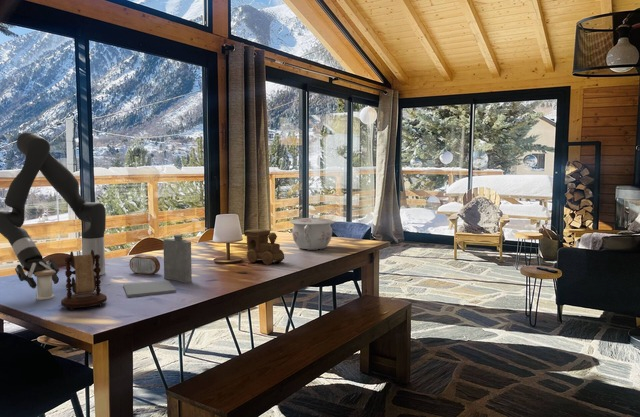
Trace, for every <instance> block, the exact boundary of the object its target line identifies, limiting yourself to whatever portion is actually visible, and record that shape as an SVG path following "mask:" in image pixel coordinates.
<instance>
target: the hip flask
mask: <svg viewBox="0 0 640 417" xmlns="http://www.w3.org/2000/svg"><path fill="white" fill-rule="evenodd" d="M162 241H163V243H162V244H163V279H164V280H165V279H166V280H173V281H179V282H183V283H185V284H186V283H192V281H193V280H192V278H193V277H192V272H193V271H192V241H190V240H188V239H183V234H174V235H173V238H163V240H162Z"/></svg>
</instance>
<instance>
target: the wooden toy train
mask: <svg viewBox="0 0 640 417" xmlns="http://www.w3.org/2000/svg"><path fill="white" fill-rule="evenodd" d="M243 236H244V237H246V245H247V246H246V247H247V251H246V258H247V260H248V261H249V262H250V263H256V262H257V261H258V260H261V261H262V262H263V264H265V265H267V266H270V265H271V264H272V263H273V262H276V263H282V262H283V260H285V254H284V252H283V250H282V249H281V246H280V243H276V240H277V239H278V238H277V237H278V236H277V234H276V233H275V232H271V230H269V229H262V228H256V229H255V228H252V229H247V230H244V235H243Z"/></svg>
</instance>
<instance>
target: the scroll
mask: <svg viewBox="0 0 640 417" xmlns="http://www.w3.org/2000/svg"><path fill="white" fill-rule="evenodd" d="M69 253H70V254H69V256H67V257H65V259H64V261H65V265H66V266H65V272H64V274H65V276H66V281H65V282H66V285H65V287H66V291H67V292H66V296H65V297H64V298H62V299H61V300H60V305H61V306H62V307H65V308H69V309H70V311H71V312H74V310H75V308H85V307H92V306H97V305H99V306H100V307H103V306H104V303H105V302H106V301H108V298H107V295H106V294H104V293H102V291H101V283H102V281H101V280H100V279H101V275H99V273H100V271H101V269H100V267H99V266H100V264H99V261H100V260H98V259H100V255H98V254H96V255H95V254H94V251H93V250H91V254H88V255H83V254H79V255H74V252H73V250H72V251H70V252H69ZM95 259H96V260H95ZM95 261H96V263H95ZM94 264H95V266H96V267H95V268H93V265H94ZM71 268H73V269H74V270H73V271H72V270H71ZM94 272H96V276H95V275H94ZM73 275H74V276H73ZM72 276H73V277H72ZM71 277H72V278H71Z"/></svg>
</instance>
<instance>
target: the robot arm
mask: <svg viewBox="0 0 640 417" xmlns="http://www.w3.org/2000/svg"><path fill="white" fill-rule="evenodd" d="M16 145H17V149H18V150H19V152H20V153H22V154H23V156H25V158H24V163H23V166H22V168H21V170H20V171H19V173H18V174H17V175H16V176H15V178H14V179H12V181H11V182H10V185H9V187H8V189H7V191H6V192H7V193H6V195H5V199H4V204H5V205H6V206H7V207H9V208H11V209H12V210H11V211H0V235H2V236H3V237H4V238H5V239H6V240H7V241H8V243H9V245H10V246H11V247H12V251H13V252H14V254H15V256H16V258H17V260H18V262H19V263H20V264H17V265H16V267H15V268H14V271H15V273H16V275H17V278H18V279H19V281H20V282H23V281H25V282H27V283H28V285H29V287H30V288H31V289H33V290H34V289H37V281H35V279H34V278H33V277H32V276H33V275H34V272H37V271H43V270H53V271H54V275H52V283H53V284H55V285H57V284H58V283H59V280H60V278H59V276H58V273H59V271H60V268H59V267H58V265H57V264H56V262H55V260H54V259H52V258H50V259H49V260H47V261H45V259H44V258H43V254H42V253H41V251H40V249H38V247H37V245H36V243H35V242H34V241H33V240H32V238H31V236H30V235H29V233H28V232H27V230H26V229H24V228H22V227H23V225H24V223H25V212H26V211H25V210H26V203H27V200H28V197H29V194H30V191H31V189H32V186H33V185H34V182H35V180H36V178H37V176H38V174H39V173H41V174H42V175H43V177H44V178H45V179H46V180H47V182H48V183H49V185H51V187H52V188H53V189H54V190H55V191H56V192H57V193H58V194H59V195H60V196H61V198H63V200H64V201H65V202H66V203H67V205H68V206H69V207H70V209H71V210H72V212H73V213H74V215H75V216H76V217H77V218H78V220H79V221H81V222H83V223H90V224H89V228H87V229H86V230H83V231H82V232H81V244H82V248H81V250H82V255H88V254H91V250H93V251H94V254H95V255H96V254H98V255H100V259H98V260H100V261H99V264H100V266H99V267H100V269H101V271H100V273H99V275H100V276H102V275H105V274H106V257H105V256H106V253H105V252H106V249H105V248H106V246H105V232H106V227H107V226H106V223H107V222H106V220H107V216H106V215H107V212H106V206H104V204H103V203H101V202H93V201H92V202H89V201H86V200H85V199H84V198H83V197H82V196H81V194H80V184H79V181H78V179H77V178H76V176H74V174H73V173H72V172H71V171H70V170H69V169H68V167H66V166H65V165H64V164H63V163H61V162H60V161H59V160H58V159H57V158H55V157H54V156H53V155H52V154H51V153H50V150H51V144H50V142H49V141H48V140H47V139H46V138H44V137H43V136H41V135H39V134H37V133H35V132H31V131H27V132H26V131H25V132H23V133H20V134H19V135H18V137H17V139H16ZM95 260H96V259H95ZM95 263H96V261H95ZM95 267H96V266H95V264H94V265H93V268H95ZM25 271H26V272H27V274H26V273H25ZM94 275H95V277H96V272H94Z"/></svg>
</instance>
